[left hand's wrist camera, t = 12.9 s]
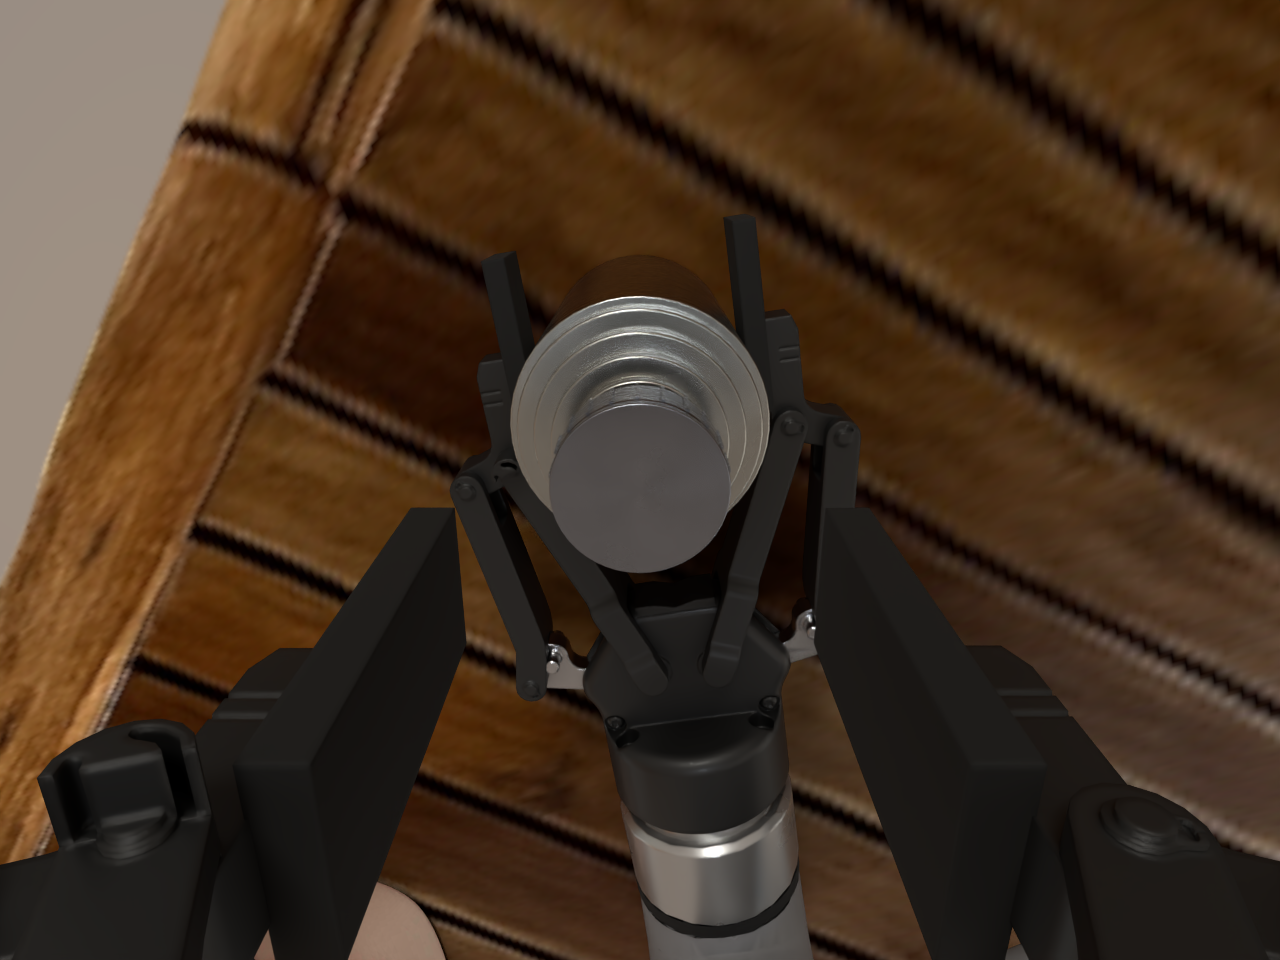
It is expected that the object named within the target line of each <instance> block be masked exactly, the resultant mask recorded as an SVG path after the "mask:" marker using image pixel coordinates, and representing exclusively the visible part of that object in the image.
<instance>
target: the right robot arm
mask: <svg viewBox="0 0 1280 960" xmlns="http://www.w3.org/2000/svg"><path fill="white" fill-rule="evenodd" d="M724 226H725V235H726V244H727V253H728V262H729V271H730V280H731V289H732V298H733V307H734V316H735V325H736V332H737V334H738V336H739V337H740V339H741V340H742V342H743V344H744V345H745V347H746V348H747V350H748V352H749V353H750V355H751V357H752V358H753V360H754V362H755V363H756V365H757V367H758V369H759V372H760V374H761V376H762V379H763V381H764V385H765V389H766V392H767V396H768V403H769V411H770V430H769V437H768V444H767V448H766V452H765V455H764V459H763V462H762V464H761V467H760V469H759V471H758V473H757V476H756V477H755V479H754V481H753V482H752V484H751V486H750V487H749V489H748V490H747V492H746V493H745V494H744V495H743V497H742V498H741V499H740V500H739V502H738V503H737V504H736V505H735V507H734V510H733V514H732V517H731V520H730V524H729V527H728V530H727V534H726V537H725V540H724V544H723V547H722V549H721V550H719V552H718V555H717V558H716V561H715V565H714V568H713V572H712V575H710V574H703V575H696V576H691V577H688V578H686V579H683V580H680V581H678V582H675V583H665V582H655V581H652V582H645V583H638V584H634V582H633V581H632V579H631V578H630V576H629V575H628V573H627V572H623V571H618V570H614V569H611V568H608V567H605V566H603V565H601V564H598V563H596V562H594V561H593V560H591V559H589V558H588V557H586V556H585V555H584V554H582V553H581V552H580V551H579V550H577V549H576V548H575V547H574V546H573V545H572V544H571V543H570V542H569V541H568V539H567V538H566V537H565V535H564V534H563V533H562V531H561V529H560V527H559V526H558V524H557V522H556V519H555V517H554V514H553V512H551V511H550V510H549V509H548V508H547V507H546V506H545V505H544V503H543V502H542V501H541V500H540V499H539V498H538V497H537V495H536V494H535V493H534V491H533V490H532V489H531V487H530V486H529V484H528V482H527V480H526V479H525V477H524V475H523V473H522V471H521V469H520V466H519V464H518V461H517V459H516V455H515V451H514V447H513V443H512V437H511V428H510V415H511V404H512V398H513V392H514V389H515V386H516V382H517V379H518V376H519V374H520V372H521V370H522V368H523V366H524V363H525V361H526V360H527V358H528V357H529V355H530V353H531V352H532V350H533V349H534V347H535V344H534V339H533V334H532V329H531V324H530V319H529V314H528V309H527V304H526V299H525V294H524V289H523V284H522V280H521V275H520V270H519V265H518V260H517V255H516V251H512V252H506V253H500V254H495V255H493V256H491V257H489V258H487V259H485V260H483V261H481V264H482V268H483V273H484V278H485V282H486V287H487V291H488V296H489V301H490V305H491V310H492V314H493V319H494V324H495V328H496V333H497V337H498V342H499V347H500V351H501V353H495V354H489V355H486V356H485V357H484V358H483V359H482V360H481V362H480V363H479V367H478V374H477V381H478V385H479V390H480V393H481V398H482V403H483V407H484V411H485V416H486V420H487V424H488V429H489V433H490V437H491V443H492V447H491V448H490V449H489V450H487V451H485V452H483V453H482V454H480V455H473V456H471V457H470V458H468V459H467V460H466V462H465V463H464V465H463V466H462V468H461V470H460V471H459V473H458V474H457V476H456V478H455V479H454V481H453V482H452V484H451V487H450V494H451V498H452V500H453V502H454V505H455V507H456V510H457V512H458V514H459V517H460V519H461V522H462V524H463V526H464V529H465V531H466V533H467V536H468V538H469V541H470V543H471V545H472V548H473V550H474V553H475V555H476V557H477V560H478V562H479V565H480V567H481V569H482V572H483V574H484V576H485V579H486V581H487V584H488V586H489V588H490V591H491V593H492V596H493V598H494V600H495V603H496V605H497V607H498V610H499V612H500V615H501V617H502V619H503V622H504V624H505V627H506V629H507V631H508V634H509V636H510V638H511V641H512V643H513V646H514V648H515V650H516V689H517V693H518V694H519V696H520V697H521V698H523V699H524V700H527V701H537V700H539V699H541V698H542V697H543V696H544V695H545V693H546V689H547V688H565V689H584V691H585V694H586V695H587V697H588V698H589V699H590V700H591V701H592V702H593V703H594V704H595V706H596V707H597V708H598V710H599V711H600V713H601V715H602V718H603V723H604V727H605V732H606V737H607V742H608V747H609V752H610V756H611V761H612V766H613V771H614V776H615V781H616V785H617V790H618V793H619V795H620V798H621V811H622V816H623V820H624V825H625V829H626V834H627V838H628V843H629V847H630V852H631V856H632V861H633V866H634V870H635V876H636V880H637V884H638V888H639V891H640V895H641V901H642V907H643V913H644V919H645V925H646V931H647V937H648V944H649V953H650V960H813V955H812V950H811V945H810V940H809V934H808V928H807V922H806V914H805V907H804V901H803V894H802V887H801V880H800V873H799V858H798V850H799V847H798V838H797V830H796V822H795V813H794V805H793V796H792V788H791V779H790V777H789V774H788V772H789V760H788V751H787V742H786V733H785V724H784V715H783V706H782V697H781V690H782V685H783V682H784V680H785V678H786V676H787V674H788V672H789V669H790V665H791V663H792V662H795V661H798V660H801V659H805V658H808V657H811V656H814V655H817V651H816V648H815V646H814V632H815V621H816V610H817V598H818V587H819V575H820V564H821V553H822V541H823V530H824V519H825V508H854V506H855V495H856V485H857V474H858V463H859V452H860V441H861V434H860V430H859V428H858V427H857V425H856V424H855V423H854V422H853V421H852V420H851V418H850V417H849V416H848V415H847V414H846V413H845V412H844V410H843V409H842V408H841V407H839V406H838V405H836V404H833V403H828V404H819V403H814V402H810V401H807V400H806V399H804V394H803V382H802V370H801V359H800V347H799V335H798V328H797V326H796V324H795V322H794V320H793V318H792V316H791V315H790V314H789V313H788V312H787V311H786V310H785V309H780V310H774V311H767V312H764V302H763V292H762V282H761V271H760V261H759V251H758V241H757V231H756V221H755V217H753V216H750V215H747V214H741V215H735V216H729V217H724ZM804 443H808V444H811V455H810V469H809V484H808V498H807V512H806V527H805V541H804V556H803V586H804V591H805V595H806V598H805V597H804V598H800V599H798V600H797V602H796V604H795V606H794V607H793V609H792V621H791V623H790V625H789V626H788V627H787V628H786V629H784V630H782V631H779V630H778V629H777V628H776V627H775V626H774V625H773V624H772V623H771V622H770V621H769V620H768V619H767V618H765V617H764V616H763V615H762V614H761V613H760V612H759V611H758V610H757V609H756V608H755V605H756V602H757V598H758V589H759V581H760V577H761V574H762V571H763V568H764V565H765V562H766V559H767V556H768V552H769V549H770V546H771V543H772V540H773V537H774V534H775V531H776V528H777V524H778V521H779V518H780V515H781V512H782V509H783V506H784V503H785V500H786V496H787V493H788V490H789V487H790V484H791V481H792V478H793V475H794V472H795V468H796V465H797V462H798V459H799V456H800V453H801V450H802V447H803V444H804ZM502 487H505V488H506V489H507V491H508V492H509V494H510V495H511V497H512V498H513V499H514V501H515V502H516V504H517V505H518V507H519V508H520V509H521V511H522V512H523V514H524V515H525V517H526V518H527V519H528V521H529V522H530V524H531V525H532V527H533V528H534V529H535V531H536V532H537V534H538V535H539V536H540V538H541V539H542V541H543V542H544V544H545V545H546V546H547V548H548V549H549V551H550V552H551V554H552V555H553V556H554V558H555V559H556V561H557V562H558V564H559V565H560V566H561V568H562V569H563V571H564V572H565V574H566V575H567V576H568V578H569V579H570V581H571V582H572V583H573V585H574V586H575V588H576V589H577V591H578V592H579V593H580V595H581V596H582V598H583V599H584V601H585V602H586V604H587V605H588V607H589V610H590V614H591V616H592V619H593V621H594V622H595V624H596V625H597V627H598V628H599V630H600V631H601V632H600V634H599V636H598V637H597V639H596V641H595V643H594V644H593V646H592V648H591V650H590V651H589V653H588V655H587V657H584V656H580V655H578V654H576V653H575V652H574V651H573V650H572V648H571V645H570V642H569V640H568V638H567V637H565V636H564V634H563V632H561V631H558V630H556V631H553V623H552V617H551V612H550V609H549V606H548V603H547V600H546V598H545V595H544V593H543V590H542V588H541V585H540V583H539V580H538V578H537V575H536V572H535V570H534V567H533V565H532V562H531V560H530V557H529V555H528V552H527V550H526V547H525V544H524V542H523V539H522V537H521V534H520V532H519V529H518V527H517V524H516V522H515V519H514V517H513V514H512V511H511V509H510V506H509V504H508V501H507V499H506V496H505V494H504V491H503V489H502ZM1005 960H1029V959H1028V957H1027V955H1026V953H1025V951H1024V949H1023V947H1022V945H1021V944H1019V945H1016V946H1014V947H1012V948H1009V949H1007V953H1006V958H1005Z"/></svg>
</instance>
